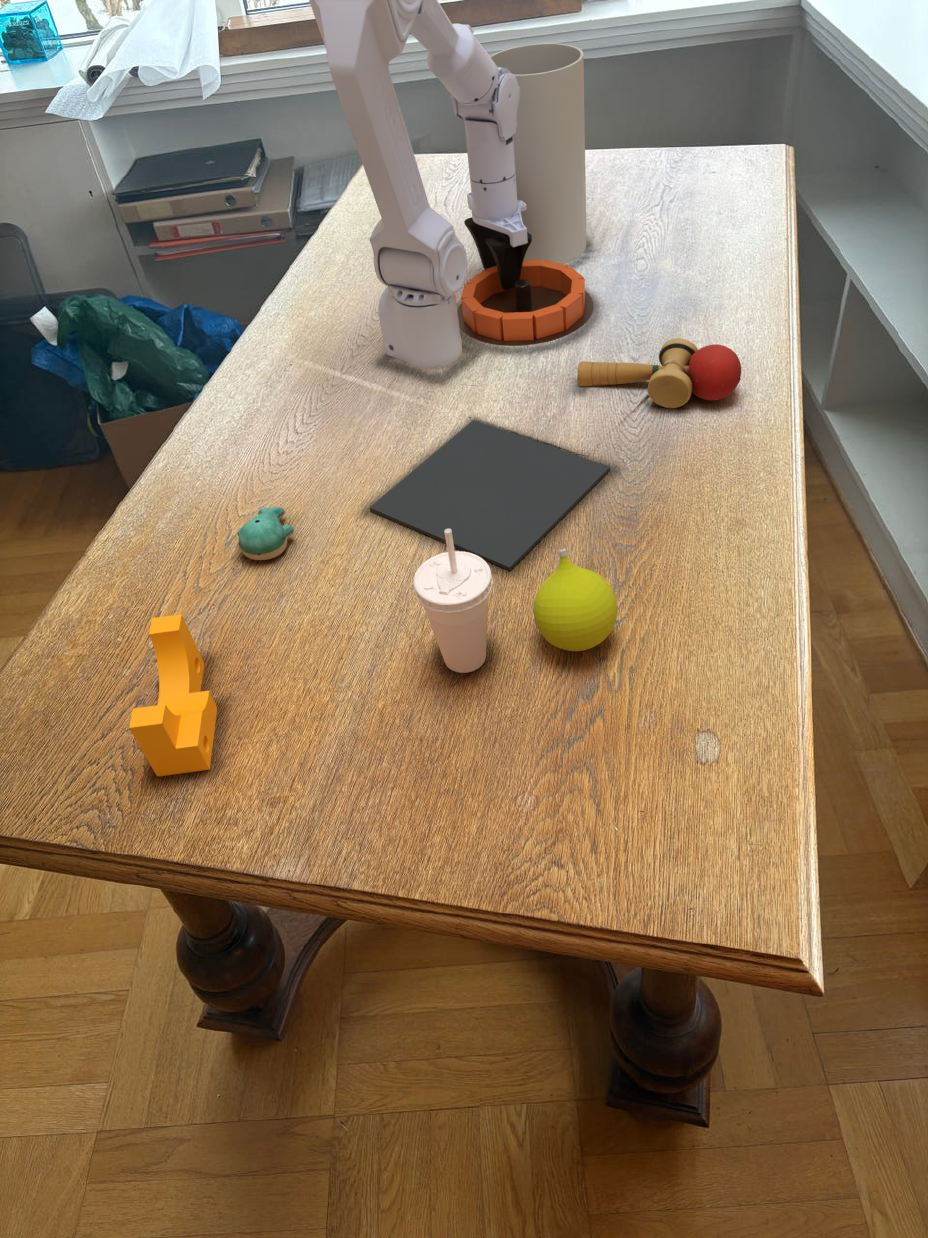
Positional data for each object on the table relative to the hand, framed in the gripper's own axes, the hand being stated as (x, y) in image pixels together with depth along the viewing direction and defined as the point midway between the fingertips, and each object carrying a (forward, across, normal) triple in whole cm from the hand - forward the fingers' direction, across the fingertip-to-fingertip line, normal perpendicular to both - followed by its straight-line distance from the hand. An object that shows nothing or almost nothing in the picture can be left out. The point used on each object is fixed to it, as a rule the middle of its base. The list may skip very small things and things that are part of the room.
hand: (501, 278), depth 127 cm
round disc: (+2, -7, 0) cm, 7 cm away
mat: (+2, -39, +19) cm, 43 cm away
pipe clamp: (+2, -54, +54) cm, 76 cm away
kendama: (+2, -32, -5) cm, 32 cm away
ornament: (+2, -62, +20) cm, 65 cm away
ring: (+1, -7, 0) cm, 7 cm away
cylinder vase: (+2, +8, -10) cm, 13 cm away
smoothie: (+2, -59, +30) cm, 66 cm away
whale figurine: (+2, -35, +42) cm, 54 cm away
